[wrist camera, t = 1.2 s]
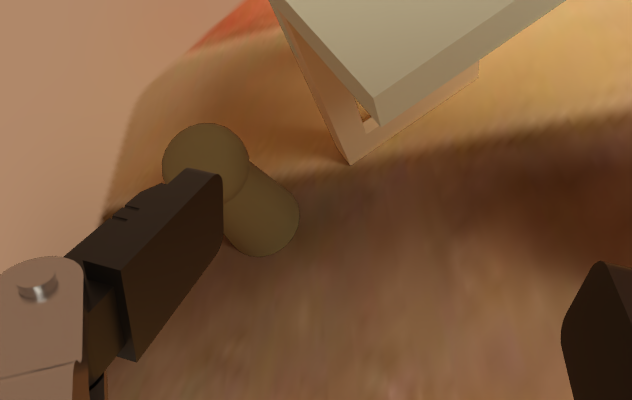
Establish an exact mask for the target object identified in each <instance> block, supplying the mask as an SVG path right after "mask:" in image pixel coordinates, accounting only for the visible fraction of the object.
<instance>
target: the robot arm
mask: <svg viewBox="0 0 632 400" xmlns="http://www.w3.org/2000/svg"><path fill="white" fill-rule="evenodd" d="M223 231H224V221H223V181H222V177H221V176H220V175H219V174H216V173H211V172H207V171H202V170H198V169H194V168H185V169H184V170H183V171H182V172H181V173H179V174H178V175H177V176H176V177H175V178H174V179H173V180H172V181H170V182H169V183H168V184H163V183H161V184H158V185H156V186H154V187H151V188H149V189H147V190H144V191H142V192H140V193H139V194H138V195H136V196H135V197H134V198H133V199H132V200H130V201H129V202H128V203H127V204H126V205H125V208H121V209H120V210H119V211H117V212H116V213H115V214H114V215H113V217H112V219H110V218H109V219H108V220H107V221H105V222H104V223H103V224H102V225H101V226H100V227H98V228H97V229H96V230H95V231H94V232H92V233H91V234H90V235H89V236H88V237H86V238H85V239H84V240H83V241H82V242H81V243H79V244H78V245H77V246H76V247H75V248H73V249H72V250H71V251H70V252H69V253H67V254H66V255H65V256H64V257H56V256H54V257H53V256H48V257H40V258H35V259H31V260H27V261H24V262H22V263H19V264H17V265H15V266H13V267H11V268H9V269H8V270H6V271H4V272H3V273H2V274H1V275H0V400H108V379H107V372H106V368H107V367H108V366H109V365H110V363H111V362H112V361H113V360H114V358H115V357H116V356H117V357H121V358H124V359H127V360H130V361H134V362H138V360H139V359H140V357H141V356H142V355H143V353H144V352H145V351H146V349H147V348H148V347H149V345H150V344H151V343H152V341H153V340H154V338H155V337H156V336H157V334H158V333H159V332H160V330H161V329H162V328H163V326H164V325H165V324H166V322H167V321H168V319H169V318H170V317H171V315H172V314H173V313H174V311H175V310H176V309H177V307H178V306H179V305H180V303H181V302H182V300H183V299H184V298H185V296H186V295H187V294H188V292H189V291H190V290H191V288H192V287H193V286H194V284H195V283H196V281H197V280H198V279H199V277H200V276H201V275H202V273H203V272H204V271H205V269H206V268H207V267H208V265H209V264H210V262H211V261H212V260H213V258H214V257H215V256H216V254H217V252H218V250H219V248H220V245H221V242H222V238H223ZM561 346H562V351H563V355H564V359H565V363H566V368H567V372H568V376H569V380H570V385H571V389H572V393H573V397H574V400H632V268H629V267H625V266H620V265H616V264H612V263H607V262H603V261H599V262H597V263H595V264H594V265H593V266H592V268H591V269H590V271H589V273H588V275H587V277H586V278H585V280H584V282H583V284H582V286H581V288H580V289H579V291H578V293H577V295H576V297H575V299H574V300H573V302H572V304H571V306H570V308H569V310H568V311H567V313H566V315H565V318H564V320H563V324H562V329H561Z"/></svg>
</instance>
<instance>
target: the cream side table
mask: <svg viewBox="0 0 632 400" xmlns="http://www.w3.org/2000/svg"><path fill="white" fill-rule="evenodd" d="M564 1H566V0H269V2H270V4H271V6H272V8H273V11H274V13H275V15H276V17H277V19H278V21H279V24H280V26H281V28H282V30H283V32H284V34H285V37H286V39H287V41H288V43H289V45H290V47H291V50H292V52H293V54H294V56H295V58H296V60H297V63H298V65H299V67H300V69H301V71H302V73H303V75H304V78H305V80H306V82H307V84H308V86H309V88H310V91H311V93H312V95H313V97H314V99H315V101H316V104H317V106H318V108H319V110H320V112H321V114H322V117H323V119H324V121H325V123H326V125H327V127H328V130H329V132H330V134H331V136H332V138H333V140H334V143H335V145H336V147H337V149H338V150H339V151H340V153H341V154H342V155H343V157H344V158H345V159H346V160H347V162H348V163H349V164H350V166H351V165H352V164H354V163H355V162H357V161H358V160H360V159H361V158H363V157H364V156H365V155H367V154H368V153H370V152H371V151H373V150H374V149H376V148H377V147H379V146H380V145H381V144H383V143H384V142H386V141H387V140H389V139H390V138H392V137H393V136H395V135H396V134H397V133H399V132H400V131H402V130H403V129H405V128H406V127H408V126H409V125H411V124H412V123H413V122H415V121H416V120H418V119H419V118H421V117H422V116H424V115H425V114H427V113H428V112H429V111H431V110H432V109H434V108H435V107H437V106H438V105H440V104H441V103H442V102H444V101H445V100H447V99H448V98H450V97H451V96H453V95H454V94H456V93H457V92H458V91H460V90H461V89H463V88H464V87H466V86H467V85H469V84H470V83H472V82H473V81H474V80H476V79H477V78H478V74H479V60H480V59H482V58H483V57H484V56H486V55H487V54H489V53H490V52H492V51H493V50H495V49H496V48H497V47H499V46H500V45H502V44H503V43H505V42H506V41H508V40H509V39H511V38H512V37H513V36H515V35H516V34H518V33H519V32H521V31H522V30H524V29H525V28H527V27H528V26H529V25H531V24H532V23H534V22H535V21H537V20H538V19H540V18H541V17H543V16H544V15H545V14H547V13H548V12H550V11H551V10H553V9H554V8H556V7H557V6H559V5H560V4H561V3H563V2H564ZM354 97H355V98H356V99H357V101H358V102H359V103H360V104H361V105H362V106H363V107H364V109H365V110H366V111H367V112H368V113H369V114H370V115H371V118H369V119H368V120H366V121H365V122H362V119H361V116H360V113H359V110H358V107H357V104H356V101H355V98H354Z"/></svg>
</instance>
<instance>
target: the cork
mask: <svg viewBox="0 0 632 400" xmlns="http://www.w3.org/2000/svg"><path fill="white" fill-rule="evenodd" d="M185 168H194V169H198V170H202V171H207V172H211V173H216V174H219V175H220V176H221V177H222V181H223V221H224V231H223V234H224V235H225V236H226V237H227V238H228V240H229V241H230V242H231V243H232V244H233V245H234V246H235V247H236V248H237V249H238V250H239V251H240V252H242V253H244V254H246V255H248V256H254V257H263V256H267V255H271V254H274V253H275V252H277V251H279V250H280V249H282V248H284V247H285V246H286V244H287V243H288V242H289V241H290V240H291V239H292V238H293V236H294V234H295V232H296V230H297V228H298V223H299V217H300V214H299V207H298V204H297V202H296V200H295V198H294V196H293V195H292V194H291V193H290V192H288V191H287V190H286V189H285V188H284V187H282V186H281V185H280V184H278V183H277V182H276V181H275V180H273V179H272V178H271V177H269V176H268V175H267V174H265V173H264V172H263V171H262V170H260V169H259V168H258V167H256V166H255V165H254V164H252V163H251V162H250V161H249V156H248V153H247V150H246V148H245V146H244V144H243V142H242V141H241V140H240V138H239V137H238V136H237V135H236V134H234V133H233V132H232V131H231V130H229V129H228V128H226V127H224V126H221V125H218V124H213V123H202V124H196V125H193V126H190V127H188V128H186V129H185V130H183V131H181V132H180V133H179V134H177V135H176V136H175V137H174V138H173V139H172V140H171V142H170V143H169V145H168V147H167V148H166V150H165V153H164V156H163V160H162V175H163V179H164V181H165V184H168V183H169V182H170V181H172V180H173V179H174V178H175V177H176V176H177V175H178V174H179V173H181V172H182V171H183V170H184V169H185Z"/></svg>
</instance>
